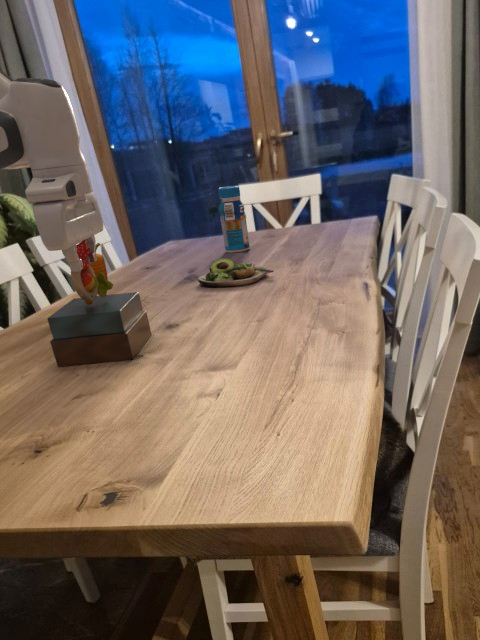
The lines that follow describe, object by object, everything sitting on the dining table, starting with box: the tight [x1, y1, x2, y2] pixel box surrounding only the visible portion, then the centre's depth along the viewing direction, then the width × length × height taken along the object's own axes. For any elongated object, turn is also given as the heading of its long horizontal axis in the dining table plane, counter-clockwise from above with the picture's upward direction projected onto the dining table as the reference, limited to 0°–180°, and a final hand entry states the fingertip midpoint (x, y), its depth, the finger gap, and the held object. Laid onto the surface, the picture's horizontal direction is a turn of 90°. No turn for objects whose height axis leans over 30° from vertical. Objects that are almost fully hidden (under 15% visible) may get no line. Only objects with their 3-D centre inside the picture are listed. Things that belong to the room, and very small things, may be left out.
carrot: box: [88, 242, 109, 296], centre depth 146 cm, size 5×5×15 cm
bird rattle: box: [70, 240, 114, 305], centre depth 105 cm, size 6×11×9 cm
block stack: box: [47, 291, 152, 368], centre depth 109 cm, size 14×14×9 cm
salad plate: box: [197, 257, 274, 288], centre depth 153 cm, size 19×18×5 cm
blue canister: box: [217, 185, 251, 254], centre depth 188 cm, size 8×8×20 cm
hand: (84, 266), depth 104 cm, fingers closed on bird rattle, 6 cm apart
